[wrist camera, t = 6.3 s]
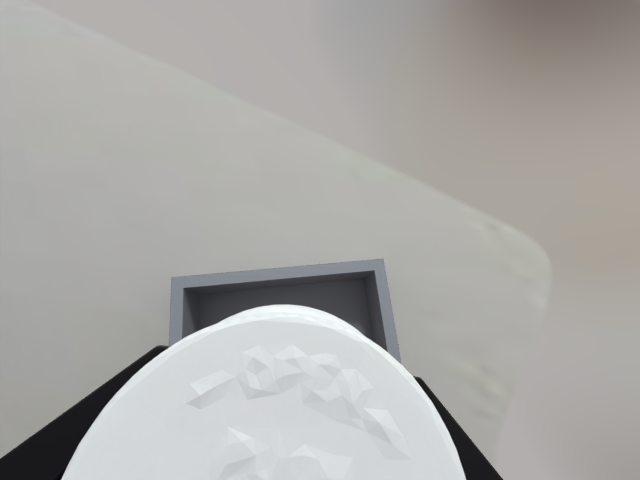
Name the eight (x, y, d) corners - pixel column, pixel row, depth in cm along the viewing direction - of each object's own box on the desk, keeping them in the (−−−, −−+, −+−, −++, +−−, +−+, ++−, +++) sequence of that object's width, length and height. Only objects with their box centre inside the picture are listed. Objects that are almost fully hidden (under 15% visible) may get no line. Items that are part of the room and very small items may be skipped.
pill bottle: (303, 496, 13) (365, 1286, 2) (190, 410, 14) (-201, 696, 3) (373, 366, 15) (592, 443, 4) (271, 296, 15) (226, 201, 5)
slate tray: (399, 468, 17) (425, 502, 13) (190, 503, 15) (161, 550, 12) (368, 270, 20) (383, 258, 17) (193, 287, 19) (171, 277, 15)
